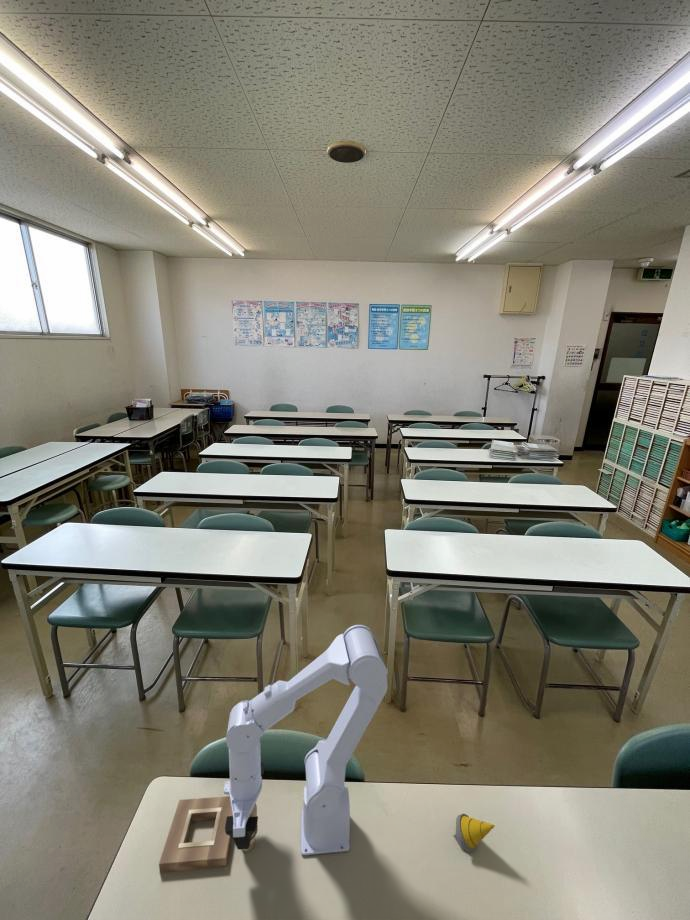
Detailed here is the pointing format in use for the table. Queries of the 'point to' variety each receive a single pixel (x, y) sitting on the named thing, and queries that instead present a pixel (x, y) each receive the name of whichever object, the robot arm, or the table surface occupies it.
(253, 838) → the peg
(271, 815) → the table surface
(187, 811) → the board
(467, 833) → the yellow striped cone
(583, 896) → the table surface
